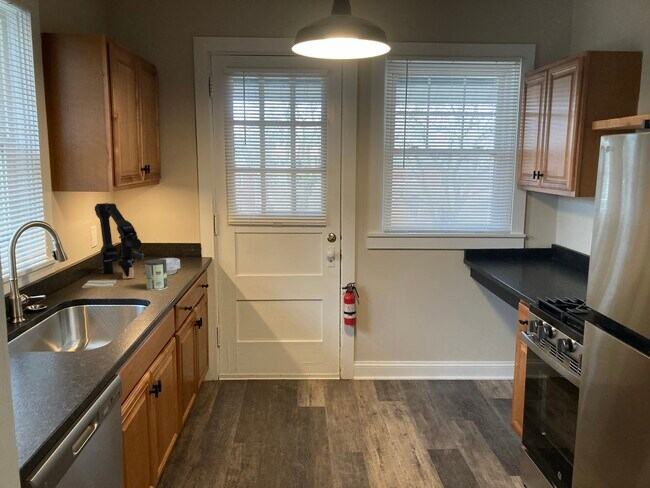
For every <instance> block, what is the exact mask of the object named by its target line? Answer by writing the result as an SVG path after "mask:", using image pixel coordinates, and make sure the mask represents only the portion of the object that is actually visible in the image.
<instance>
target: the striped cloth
mask: <svg viewBox="0 0 650 488" xmlns="http://www.w3.org/2000/svg"><path fill="white" fill-rule="evenodd" d="M117 282H118V279H117V278H115V279H95V280H93V279H91V280H89V279H88V281H86V283H85V284H83V285H82V286H81V289H96V288H97V289H98V288H99V289H100V288H101V289H103V288H112V287H113V286H114V285H116V283H117Z"/></svg>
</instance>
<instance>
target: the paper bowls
mask: <svg viewBox="0 0 650 488" xmlns="http://www.w3.org/2000/svg"><path fill="white" fill-rule="evenodd" d="M162 259H164V260H166V268H167V276H170V275H174V274H176V273H177V272H178V269H181V259H179V258H175V257H165V258H162Z"/></svg>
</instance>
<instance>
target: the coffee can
mask: <svg viewBox="0 0 650 488" xmlns="http://www.w3.org/2000/svg"><path fill="white" fill-rule="evenodd" d="M144 264H145V268H144V269H145V282H146V290H147V291H152V292H153V291H154V292H155V291H162V290H166V289H168V275H167V268H166V260H164V259H163V258H155V259H148V260H145V261H144Z"/></svg>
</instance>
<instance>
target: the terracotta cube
mask: <svg viewBox="0 0 650 488" xmlns="http://www.w3.org/2000/svg"><path fill="white" fill-rule="evenodd" d="M121 270H122V279H134V277H135V267H134V266H132V267H130V270H129V276H126V275H125V273H124V271H123V269H122V268H121Z"/></svg>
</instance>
